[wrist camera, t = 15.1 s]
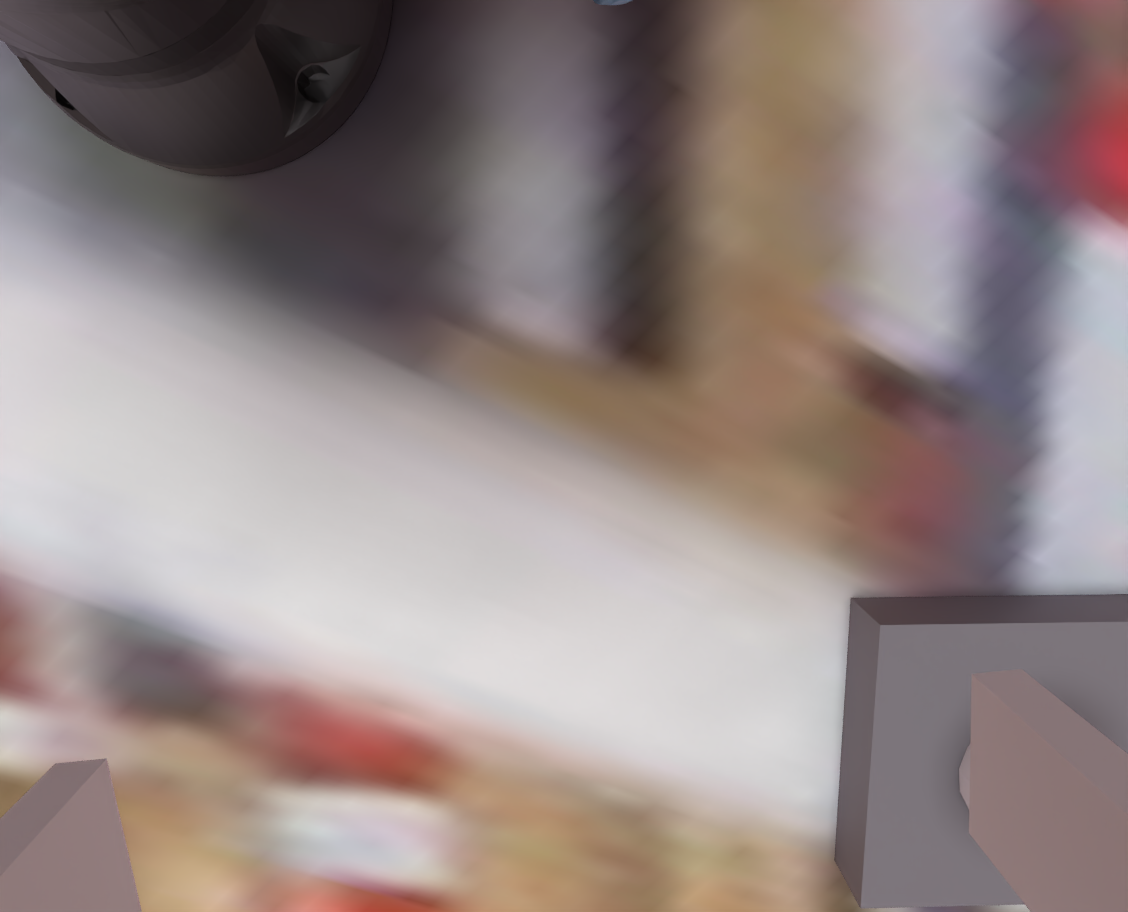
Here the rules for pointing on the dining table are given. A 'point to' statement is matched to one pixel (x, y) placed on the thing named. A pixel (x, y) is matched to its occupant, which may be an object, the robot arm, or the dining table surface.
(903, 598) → the block
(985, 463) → the dining table surface
